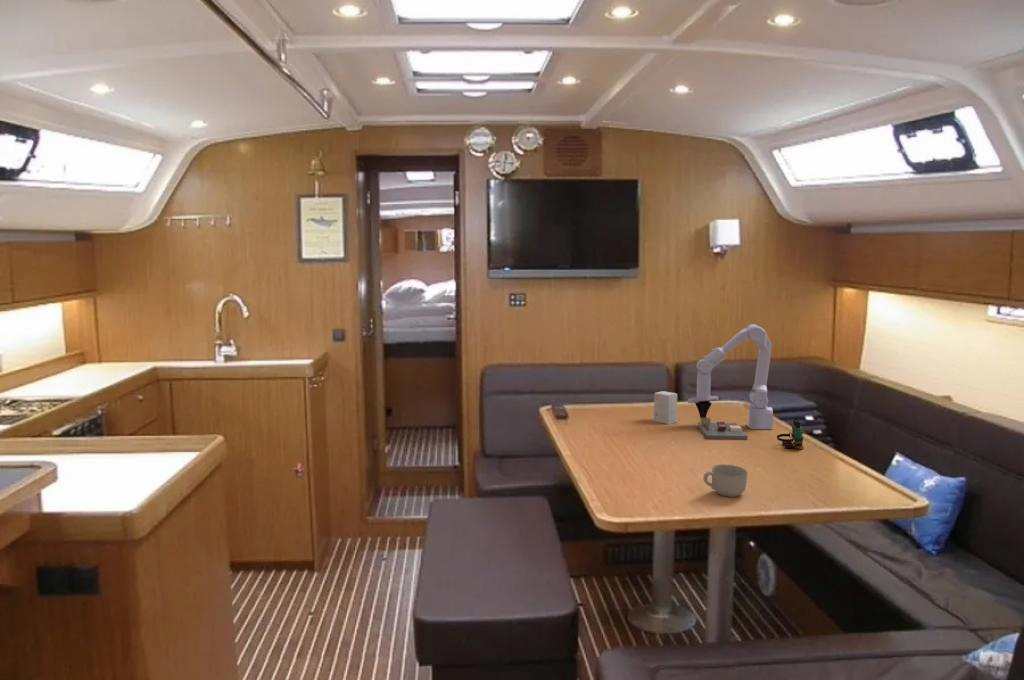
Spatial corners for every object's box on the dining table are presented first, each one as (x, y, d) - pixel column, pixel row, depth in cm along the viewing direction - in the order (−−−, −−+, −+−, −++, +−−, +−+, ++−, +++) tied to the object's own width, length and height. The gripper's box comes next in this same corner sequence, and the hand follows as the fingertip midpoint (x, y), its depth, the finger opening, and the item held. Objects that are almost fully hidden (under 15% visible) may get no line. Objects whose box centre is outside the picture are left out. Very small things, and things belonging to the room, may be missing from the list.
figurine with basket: (774, 419, 292) (801, 417, 290) (776, 445, 293) (803, 444, 291) (777, 424, 283) (805, 422, 281) (779, 451, 284) (807, 450, 282)
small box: (677, 422, 329) (677, 393, 327) (668, 424, 325) (668, 395, 323) (662, 419, 335) (663, 390, 333) (653, 421, 331) (654, 392, 329)
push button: (739, 430, 310) (739, 425, 309) (741, 432, 305) (741, 428, 305) (728, 430, 310) (728, 425, 310) (730, 432, 306) (730, 427, 306)
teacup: (740, 488, 239) (740, 463, 238) (751, 499, 229) (752, 474, 228) (697, 488, 239) (697, 464, 238) (706, 500, 228) (707, 474, 227)
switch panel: (735, 426, 320) (735, 420, 320) (747, 439, 299) (747, 433, 298) (697, 425, 322) (698, 420, 322) (706, 439, 300) (706, 432, 300)
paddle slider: (709, 424, 316) (709, 417, 316) (710, 425, 314) (710, 418, 314) (699, 424, 317) (700, 417, 316) (700, 425, 315) (700, 418, 314)
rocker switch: (723, 424, 310) (724, 421, 310) (726, 429, 306) (726, 426, 305) (717, 424, 310) (717, 421, 310) (719, 429, 306) (719, 426, 305)
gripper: (695, 390, 313) (694, 421, 315) (723, 387, 319) (722, 418, 320) (685, 387, 319) (684, 418, 321) (712, 384, 325) (712, 415, 327)
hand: (702, 418), depth 321 cm, fingers closed
